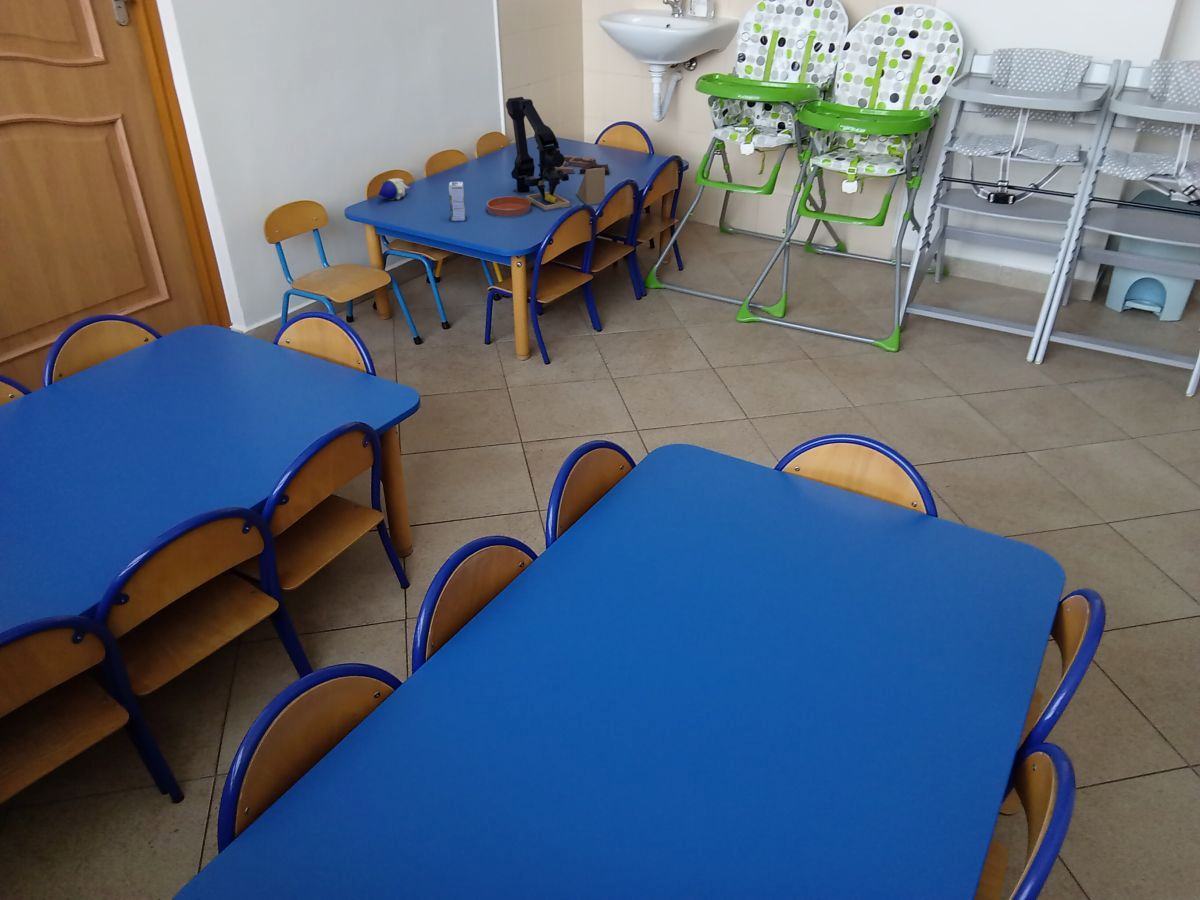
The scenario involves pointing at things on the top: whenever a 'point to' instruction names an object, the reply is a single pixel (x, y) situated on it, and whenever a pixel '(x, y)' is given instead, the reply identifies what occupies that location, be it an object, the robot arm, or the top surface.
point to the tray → (559, 203)
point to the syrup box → (457, 201)
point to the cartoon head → (393, 189)
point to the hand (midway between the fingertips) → (547, 198)
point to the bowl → (508, 206)
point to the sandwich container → (592, 186)
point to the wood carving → (581, 164)
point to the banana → (550, 198)
